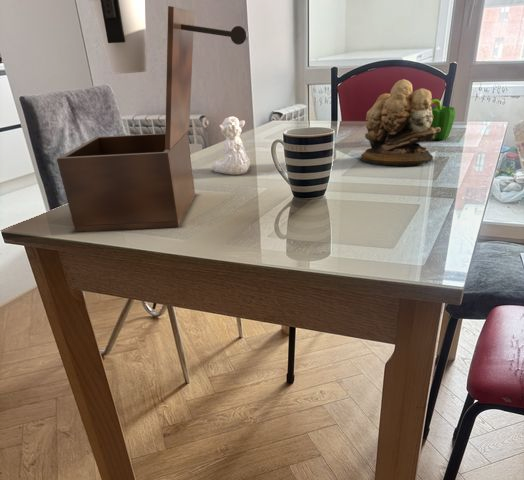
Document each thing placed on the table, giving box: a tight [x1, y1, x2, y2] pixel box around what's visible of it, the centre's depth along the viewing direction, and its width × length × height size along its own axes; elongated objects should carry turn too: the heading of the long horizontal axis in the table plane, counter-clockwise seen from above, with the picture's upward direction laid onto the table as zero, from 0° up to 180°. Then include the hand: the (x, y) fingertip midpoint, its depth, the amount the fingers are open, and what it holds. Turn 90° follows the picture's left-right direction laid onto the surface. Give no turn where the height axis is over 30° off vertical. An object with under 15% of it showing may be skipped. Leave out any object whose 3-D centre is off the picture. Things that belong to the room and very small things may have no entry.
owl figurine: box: [360, 78, 441, 167], centre depth 115 cm, size 18×12×17 cm, turn 57°
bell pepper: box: [430, 98, 456, 141], centre depth 136 cm, size 8×8×10 cm
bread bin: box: [56, 131, 196, 233], centre depth 92 cm, size 18×20×12 cm
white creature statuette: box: [211, 115, 251, 176], centre depth 116 cm, size 10×9×12 cm
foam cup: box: [88, 0, 148, 75], centre depth 87 cm, size 10×9×13 cm
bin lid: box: [164, 5, 249, 150], centre depth 83 cm, size 19×20×11 cm
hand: (124, 42), depth 88 cm, fingers closed on foam cup, 9 cm apart
